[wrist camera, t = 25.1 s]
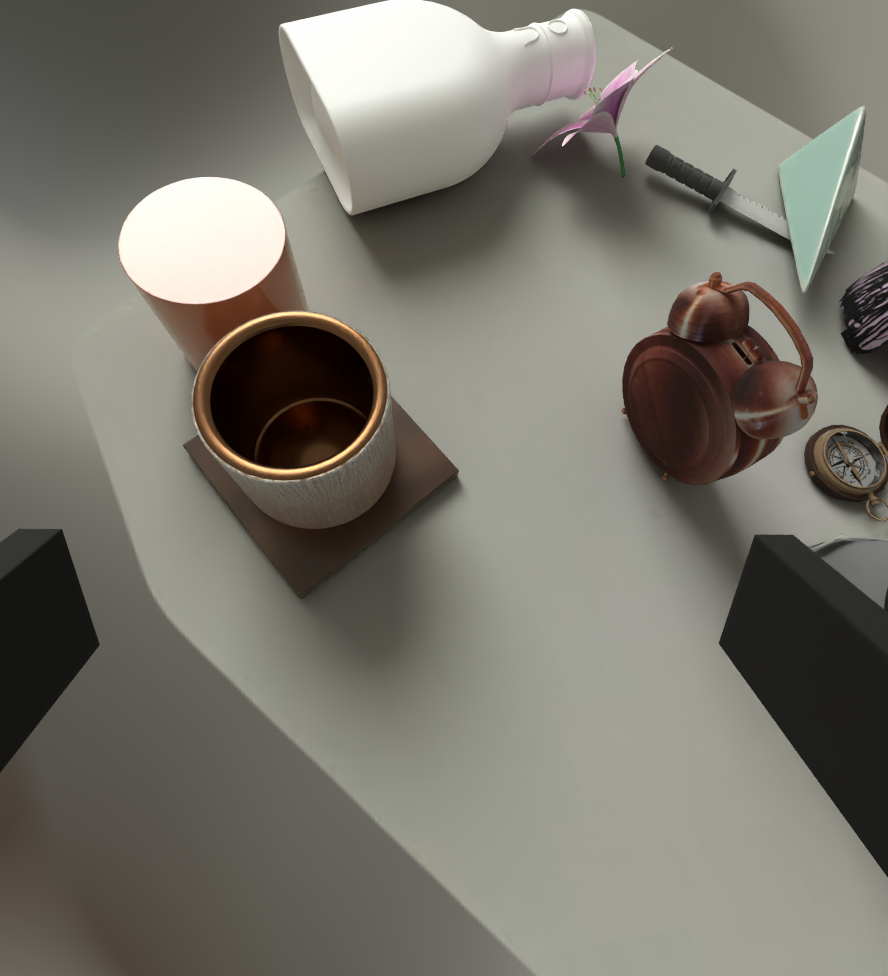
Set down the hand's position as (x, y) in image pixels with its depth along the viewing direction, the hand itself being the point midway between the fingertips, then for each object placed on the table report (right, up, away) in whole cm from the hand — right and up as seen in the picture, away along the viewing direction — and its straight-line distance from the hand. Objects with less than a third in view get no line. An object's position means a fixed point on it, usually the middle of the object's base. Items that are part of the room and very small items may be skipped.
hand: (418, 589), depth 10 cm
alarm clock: (+17, +6, +31) cm, 36 cm away
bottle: (+1, +35, +40) cm, 53 cm away
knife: (+26, +26, +37) cm, 52 cm away
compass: (+32, +3, +31) cm, 45 cm away
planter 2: (+27, +18, +34) cm, 47 cm away
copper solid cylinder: (-15, +14, +32) cm, 38 cm away
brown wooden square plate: (-8, +4, +28) cm, 30 cm away
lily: (+14, +34, +40) cm, 54 cm away
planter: (-8, +4, +28) cm, 29 cm away
